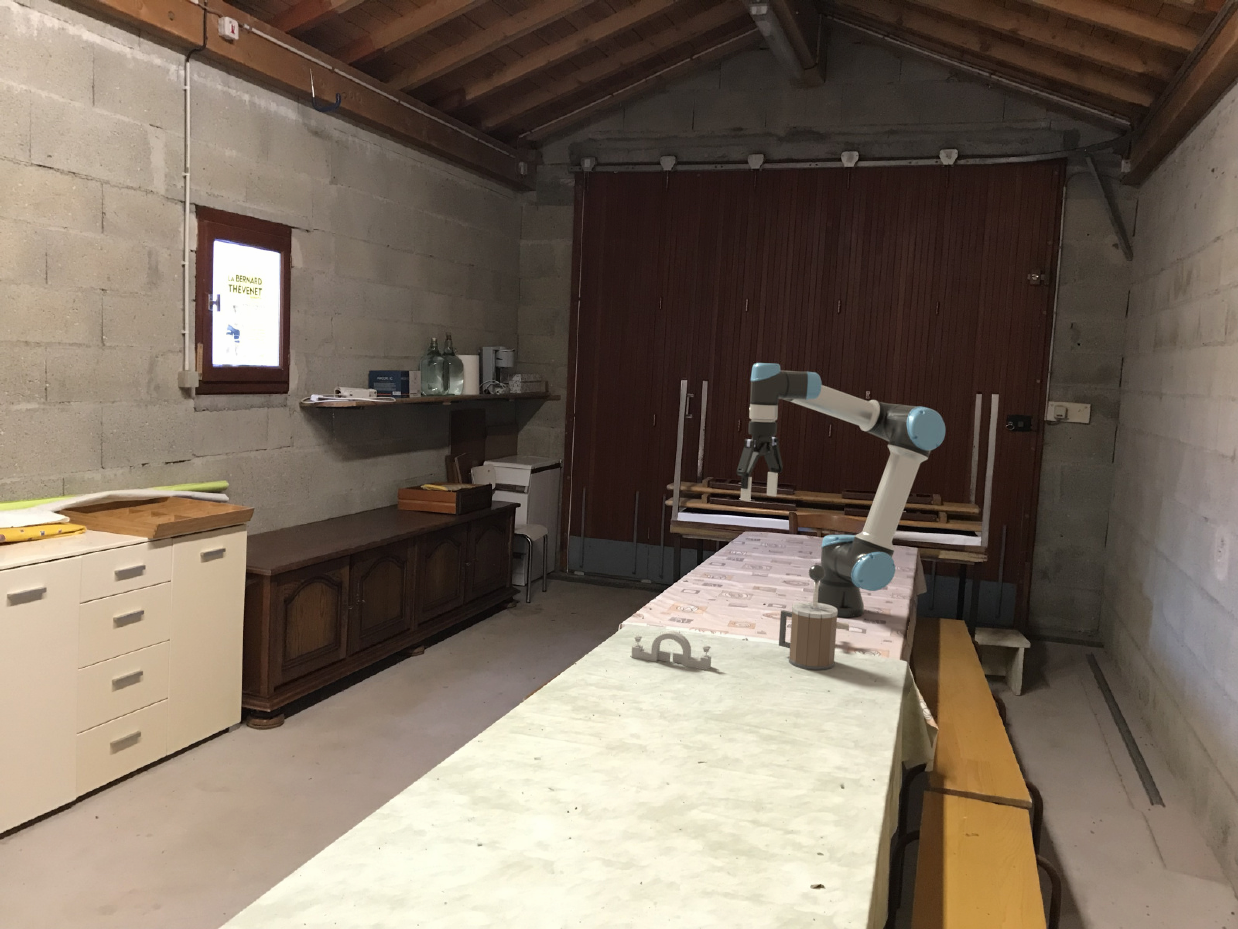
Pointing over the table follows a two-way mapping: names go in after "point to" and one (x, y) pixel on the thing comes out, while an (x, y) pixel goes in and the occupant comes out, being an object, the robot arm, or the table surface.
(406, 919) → the table surface
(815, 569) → the plunger
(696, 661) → the gateway
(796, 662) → the wooden mug
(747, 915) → the table surface
